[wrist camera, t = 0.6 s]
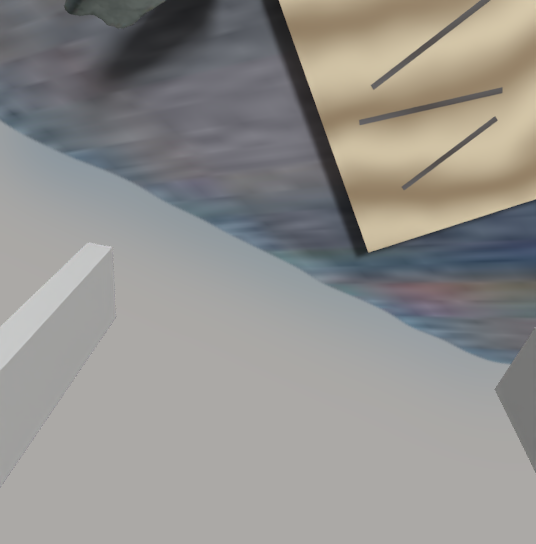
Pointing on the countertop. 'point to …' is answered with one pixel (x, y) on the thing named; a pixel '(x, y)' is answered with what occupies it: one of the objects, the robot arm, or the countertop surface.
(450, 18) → the board
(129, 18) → the stone
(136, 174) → the countertop surface
